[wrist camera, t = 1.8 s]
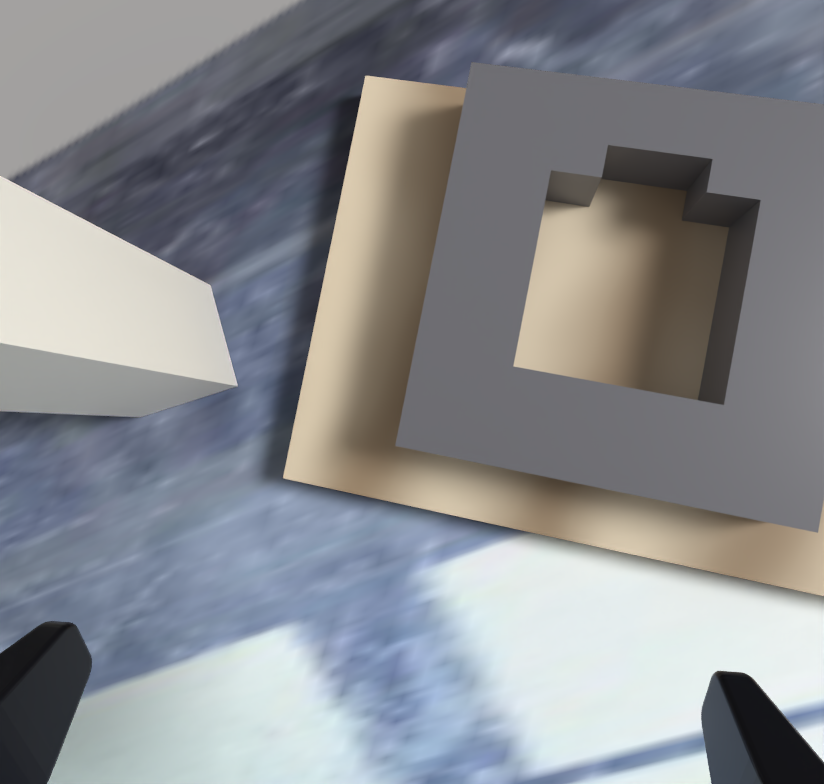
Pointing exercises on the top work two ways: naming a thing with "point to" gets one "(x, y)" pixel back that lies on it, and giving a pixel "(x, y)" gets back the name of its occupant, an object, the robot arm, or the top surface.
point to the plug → (98, 319)
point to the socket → (733, 314)
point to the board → (537, 346)
